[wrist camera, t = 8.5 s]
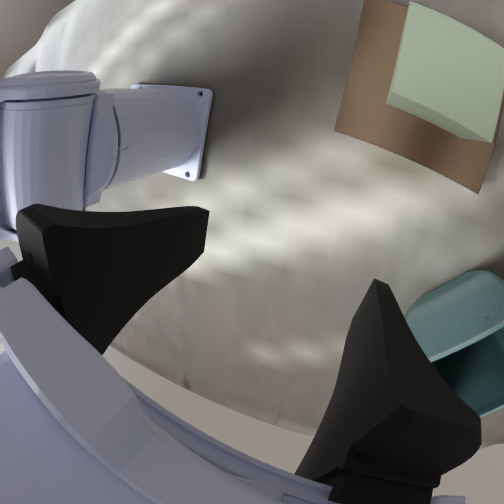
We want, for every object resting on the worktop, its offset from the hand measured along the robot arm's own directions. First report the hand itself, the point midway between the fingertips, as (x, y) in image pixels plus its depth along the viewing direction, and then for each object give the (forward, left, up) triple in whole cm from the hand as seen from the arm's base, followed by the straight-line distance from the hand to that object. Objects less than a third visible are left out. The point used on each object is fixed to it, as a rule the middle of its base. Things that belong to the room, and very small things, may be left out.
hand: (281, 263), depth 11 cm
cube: (+5, +10, -8) cm, 14 cm away
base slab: (+4, +10, -10) cm, 15 cm away
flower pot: (+13, -4, -11) cm, 18 cm away
